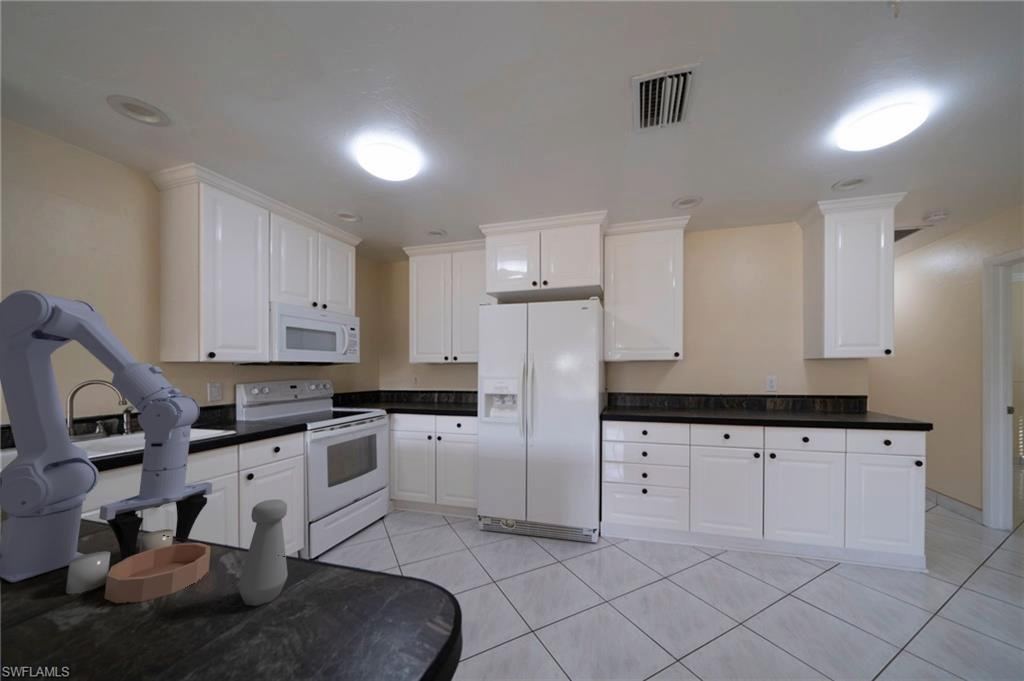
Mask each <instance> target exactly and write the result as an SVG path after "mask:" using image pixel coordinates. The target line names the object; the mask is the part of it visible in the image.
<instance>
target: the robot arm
mask: <svg viewBox="0 0 1024 681" xmlns="http://www.w3.org/2000/svg"><path fill="white" fill-rule="evenodd" d="M72 341H76V342H77V343H79V344H80V345H81V346H82V347H83V348H84V349H86V350H87V352H89V353H90V354H91V355H92V356H93V357H95V358H96V359H97V360H98V362H99V363H101V364H102V365H103V366H105V368H107V369H108V370H109V371H110V372H111V373H113V377H112V380H111V385H112V386H113V387H114V388H115V390H117V391H118V392H119V393H120V394H121V396H123V397H124V398H125V399H126V400H127V402H129V404H131V405H132V406H133V408H135V409H136V411H137V412H139V413H140V414H137V420H138V421H137V422H138V424H139V426H140V428H142V430H143V431H144V436H143V437H144V438H143V440H145V442H144V451H143V456H142V457H143V458H142V466H141V475H140V483H139V485H140V486H139V492H138V495H134V496H131V497H128V498H124V499H121V500H117V501H115V502H111V503H107V504H104V505H103V504H102V505H100V510H99V516H98V519H99V520H102V521H106V523H107V524H108V525H109V526H110V528H111V529H112V530H111V531H113V533H114V535H115V537H116V540H117V542H118V546H119V550H120V557H121V558H120V559H121V561H123V560H125V559H126V558H128V557H130V556H133V555H136V553H137V543H138V541H137V540H138V537H139V532H140V530H141V529H140V528H141V526H142V523H143V520H144V518H143V517H140V516H138V515H139V514H138V513H137V512H140V511H144V510H147V509H151V508H152V509H153V508H156V507H160V506H163V505H167V504H172V503H175V506H176V507H175V508H176V527H175V541H176V542H180V543H181V544H182V543H187V541H188V539H189V536H190V534H191V531H192V529H193V526H194V525H195V522H196V520H197V518H198V517H199V515H200V513H201V512H202V510H203V509H204V507H205V506H206V505H207V503H208V497H206V496H207V495H212V491H213V483H212V482H207V481H204V482H200V483H196V484H188V485H186V477H187V470H188V468H187V467H188V458H189V457H188V456H189V449H190V441H191V440H190V439H191V438H190V437H191V429H192V425H193V424H194V423H195V422H196V421H197V420H198V419H199V416H200V414H201V413H200V412H201V409H200V405H199V404H198V402H197V401H196V398H194V397H192V396H190V395H183V394H181V393H182V391H181V390H180V389H179V388H178V387H174V386H173V385H172V384H171V383H170V382H169V381H168V380H167V379H166V378H165V377H164V376H163V375H162V373H163V372H164V371H163V369H161V367H160V366H153V365H152V364H151V363H146V362H143V363H142V362H138V360H136V358H135V357H134V356H133V355H132V354H131V352H130V351H129V350H128V349H127V347H126V346H125V345H124V344H123V343H122V341H121V340H120V339H119V338H118V337H117V336H116V335H115V333H114V332H113V331H112V330H111V329H110V328H109V327H108V325H107V324H106V320H105V316H103V314H101V313H100V312H98V311H97V310H96V308H95V307H94V306H93V305H92V304H90V303H89V302H86V301H82V300H77V299H71V298H64V297H59V296H56V295H51V294H46V293H41V292H39V291H35V290H32V289H25V290H24V289H23V290H18V291H14V292H12V293H11V294H8V296H6V297H5V298H4V299H2V301H0V385H1V389H2V394H3V399H4V402H5V407H6V411H7V416H8V421H9V424H10V428H11V432H12V436H13V441H14V445H15V449H16V454H17V456H16V457H15V458H14V459H12V461H10V462H9V463H8V464H7V465H6V466H5V467H3V468H2V470H1V471H0V478H1V484H0V508H1V510H3V511H4V512H6V513H7V520H6V521H5V522H4V524H3V525H2V529H1V533H0V534H1V535H0V578H1V579H4V580H6V581H8V582H9V583H17V582H20V581H23V580H26V579H29V578H33V577H36V576H38V575H43V574H45V573H49V572H52V571H55V570H58V569H61V568H65V567H67V566H68V567H69V564H70V561H71V560H73V559H75V558H77V557H80V556H83V555H86V554H85V553H82V552H79V551H78V542H79V535H80V534H79V533H80V528H81V527H80V526H81V520H82V519H81V518H82V511H83V505H84V504H83V503H84V501H86V500H87V494H89V493H90V492H91V491H92V490H94V488H95V487H96V486H97V484H98V482H99V478H100V474H99V470H98V468H97V467H96V465H94V464H93V463H92V462H91V461H90V459H89V456H88V452H87V451H86V450H85V449H82V448H80V447H79V446H77V445H75V444H73V443H72V442H71V438H70V435H69V429H68V425H67V421H66V417H65V413H64V408H63V404H62V401H61V400H62V399H61V396H60V393H59V392H60V391H59V388H58V383H57V380H56V376H55V370H54V367H53V364H52V363H53V362H52V358H51V356H52V354H53V353H54V352H55V351H56V350H58V349H59V348H62V347H63V346H65V345H67V344H69V343H71V342H72ZM45 467H47V468H45ZM176 538H181V539H176ZM183 539H187V541H186V540H183Z"/></svg>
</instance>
